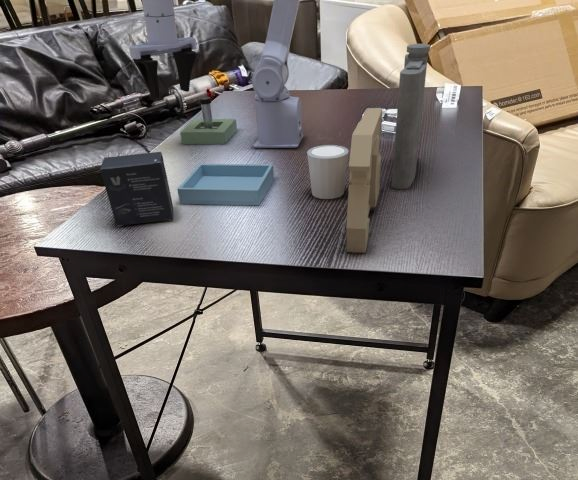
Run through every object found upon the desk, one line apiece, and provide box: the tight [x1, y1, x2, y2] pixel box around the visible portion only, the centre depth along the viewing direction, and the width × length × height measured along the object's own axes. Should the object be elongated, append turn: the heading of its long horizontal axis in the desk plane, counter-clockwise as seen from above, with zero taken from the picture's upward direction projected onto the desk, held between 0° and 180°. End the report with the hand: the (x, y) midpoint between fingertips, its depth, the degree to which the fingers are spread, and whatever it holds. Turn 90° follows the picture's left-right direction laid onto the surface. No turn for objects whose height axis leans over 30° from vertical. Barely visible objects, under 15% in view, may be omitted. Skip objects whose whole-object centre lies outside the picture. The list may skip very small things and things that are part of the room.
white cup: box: [306, 144, 350, 200], centre depth 89 cm, size 7×7×7 cm
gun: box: [346, 107, 383, 254], centre depth 78 cm, size 24×3×15 cm, turn 168°
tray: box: [176, 163, 275, 206], centre depth 94 cm, size 14×12×3 cm
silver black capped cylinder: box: [198, 96, 218, 129], centre depth 117 cm, size 4×4×8 cm
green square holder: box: [180, 118, 238, 145], centre depth 118 cm, size 10×10×2 cm
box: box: [99, 151, 174, 228], centre depth 84 cm, size 9×6×10 cm, turn 99°
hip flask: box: [391, 43, 431, 190], centre depth 90 cm, size 16×4×20 cm, turn 167°
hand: (170, 94), depth 109 cm, fingers open, 7 cm apart
